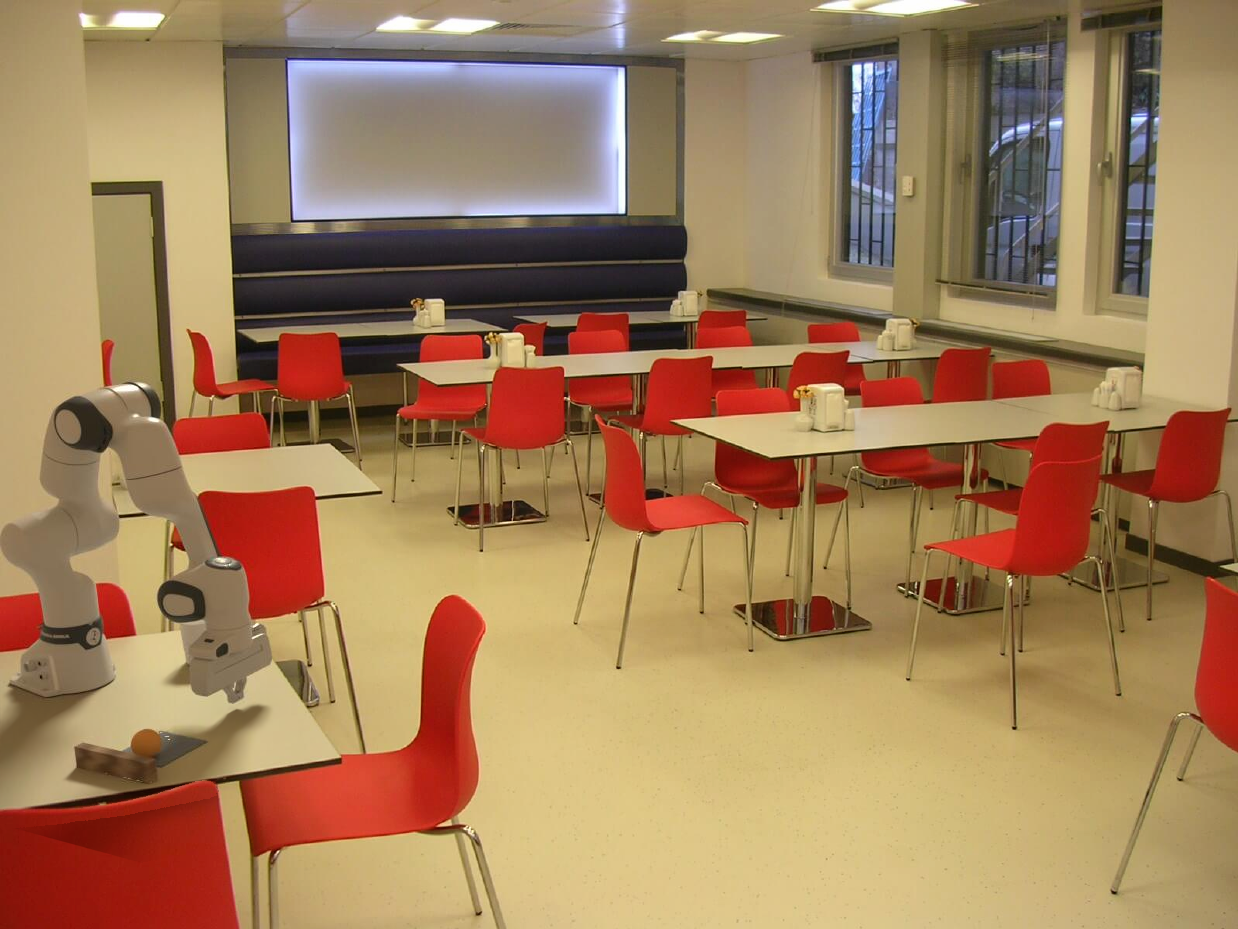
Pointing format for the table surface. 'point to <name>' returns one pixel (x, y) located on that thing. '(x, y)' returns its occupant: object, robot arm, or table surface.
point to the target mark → (173, 747)
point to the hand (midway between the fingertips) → (235, 700)
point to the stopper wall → (115, 762)
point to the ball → (146, 743)
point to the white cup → (191, 635)
